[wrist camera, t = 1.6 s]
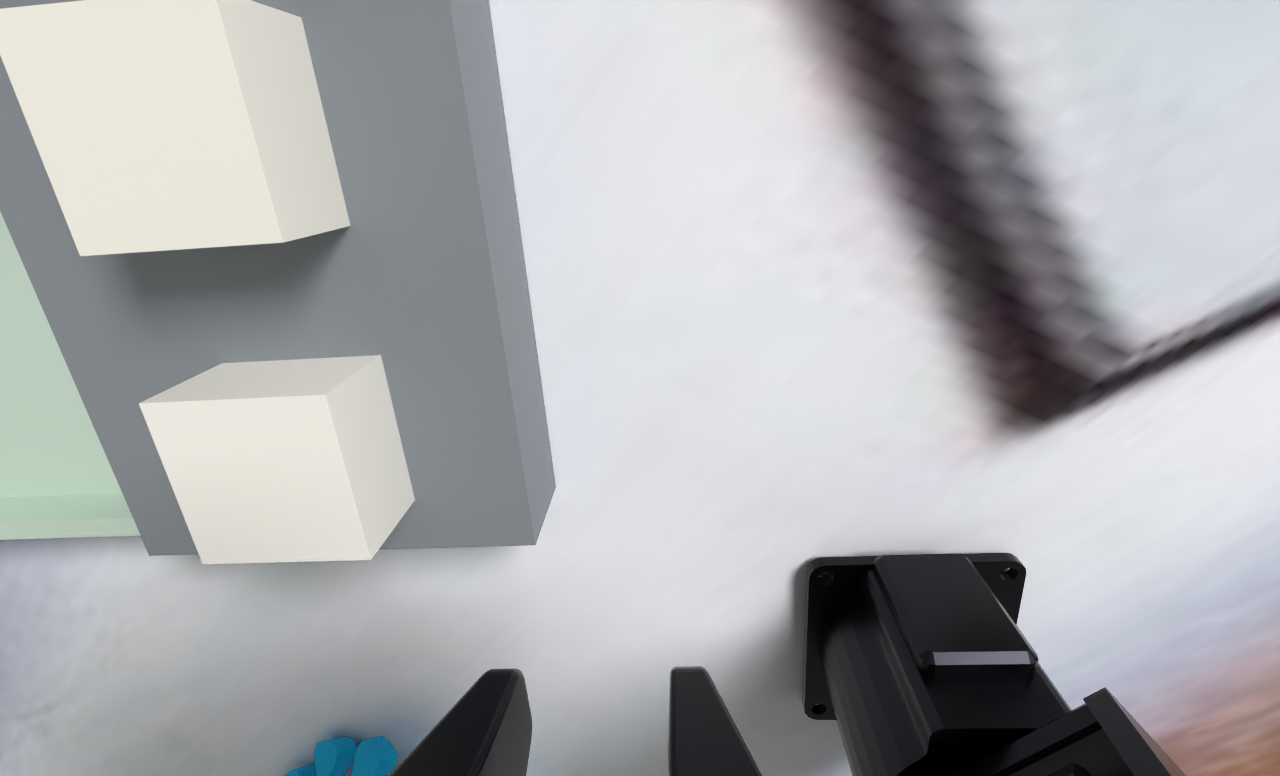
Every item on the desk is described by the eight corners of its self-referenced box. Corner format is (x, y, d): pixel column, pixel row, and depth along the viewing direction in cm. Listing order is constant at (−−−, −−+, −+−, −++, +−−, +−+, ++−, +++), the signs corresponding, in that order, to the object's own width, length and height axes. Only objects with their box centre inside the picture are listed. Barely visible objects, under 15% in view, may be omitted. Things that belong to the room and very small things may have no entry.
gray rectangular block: (555, 487, 19) (535, 544, 16) (222, 498, 20) (149, 555, 17) (474, -98, 14) (424, -159, 11) (21, -49, 15) (-133, -95, 12)
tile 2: (414, 500, 16) (371, 560, 14) (269, 504, 16) (202, 564, 14) (381, 355, 15) (325, 394, 12) (222, 363, 15) (138, 403, 13)
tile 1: (350, 225, 14) (283, 242, 11) (179, 237, 14) (80, 256, 12) (301, 17, 12) (212, -13, 10) (112, 35, 12) (-18, 10, 10)
